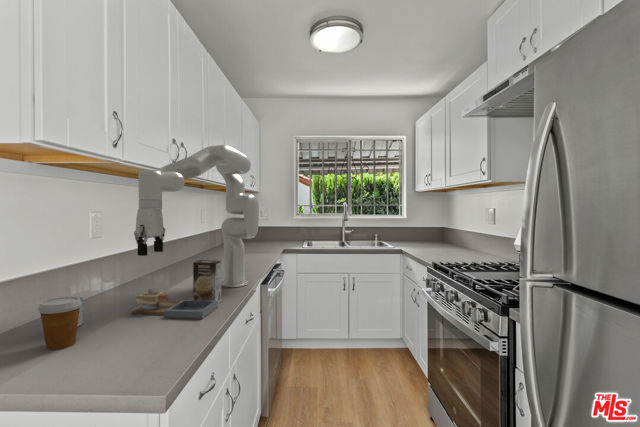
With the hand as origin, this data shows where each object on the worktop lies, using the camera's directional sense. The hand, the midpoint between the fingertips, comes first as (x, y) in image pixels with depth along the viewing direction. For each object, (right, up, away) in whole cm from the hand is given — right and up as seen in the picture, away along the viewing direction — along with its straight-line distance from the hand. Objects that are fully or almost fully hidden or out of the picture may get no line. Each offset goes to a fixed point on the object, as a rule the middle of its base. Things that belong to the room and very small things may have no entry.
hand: (150, 253), depth 125 cm
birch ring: (0, -17, 0) cm, 17 cm away
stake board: (+2, -20, +3) cm, 21 cm away
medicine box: (-16, -21, -17) cm, 32 cm away
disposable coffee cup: (-10, -21, -30) cm, 38 cm away
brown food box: (+17, -20, +11) cm, 28 cm away
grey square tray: (+15, -20, -1) cm, 26 cm away
